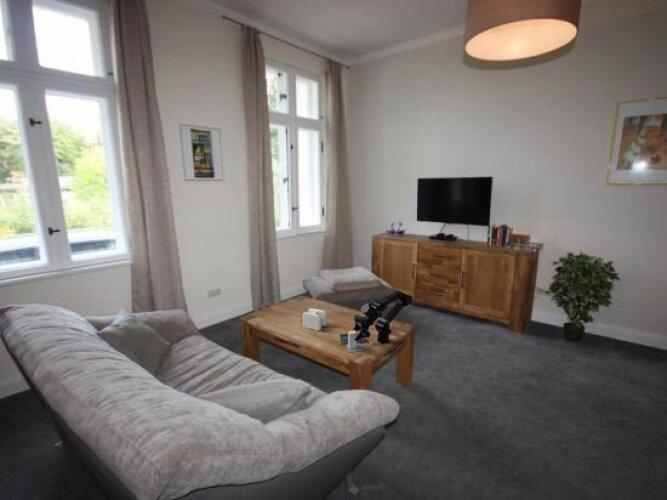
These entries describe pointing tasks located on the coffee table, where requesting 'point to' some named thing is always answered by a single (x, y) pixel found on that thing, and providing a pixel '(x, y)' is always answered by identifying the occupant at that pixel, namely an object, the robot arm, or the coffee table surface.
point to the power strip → (344, 339)
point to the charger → (352, 339)
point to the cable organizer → (314, 319)
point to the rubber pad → (359, 348)
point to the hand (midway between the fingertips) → (353, 336)
